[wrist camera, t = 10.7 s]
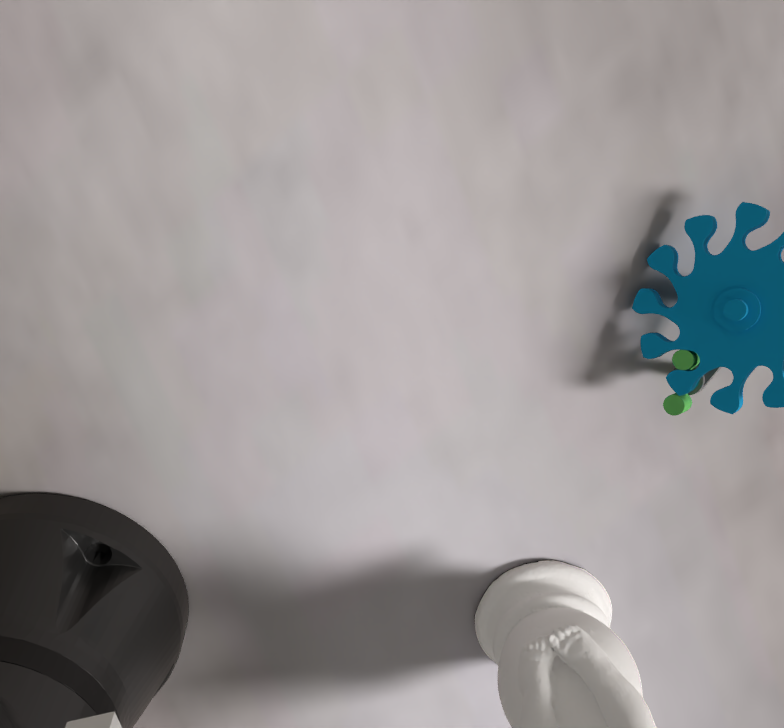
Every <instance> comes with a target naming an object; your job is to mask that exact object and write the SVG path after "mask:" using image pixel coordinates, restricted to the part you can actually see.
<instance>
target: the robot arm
mask: <svg viewBox="0 0 784 728" xmlns="http://www.w3.org/2000/svg"><path fill="white" fill-rule="evenodd" d="M188 613H189V604H188V595H187V590H186V586H185V583H184V580H183V577H182V575H181V573H180V570H179V568H178V566H177V565H176V563H175V561H174V560H173V558H172V557H171V555H170V554H169V553H168V551H167V550H166V549H165V548H164V546H163V545H162V544H161V543H160V542H159V541H158V540H157V539H156V538H155V537H154V536H153V535H152V534H150V533H149V532H148V531H147V530H145V529H144V528H143V527H142V526H140V525H139V524H137V523H136V522H134V521H133V520H131V519H129V518H128V517H126V516H124V515H122V514H120V513H118V512H116V511H114V510H112V509H110V508H107V507H105V506H102V505H100V504H97V503H94V502H90V501H87V500H83V499H79V498H75V497H69V496H63V495H54V494H22V495H14V496H7V497H2V498H0V728H133V726H134V725H135V723H136V722H137V720H138V719H139V717H140V716H141V715H142V713H143V712H144V710H145V709H146V707H147V706H148V704H149V703H150V701H151V700H152V698H153V697H154V696H155V695H156V693H157V692H158V691H159V690H160V689H161V687H162V686H163V685H164V684H165V682H166V681H167V679H168V678H169V676H170V675H171V673H172V671H173V669H174V667H175V664H176V662H177V660H178V657H179V654H180V651H181V647H182V643H183V639H184V635H185V631H186V626H187V622H188Z"/></svg>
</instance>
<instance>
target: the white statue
mask: <svg viewBox="0 0 784 728" xmlns="http://www.w3.org/2000/svg"><path fill="white" fill-rule="evenodd" d="M474 619H475V620H474V621H475V630H476V635H477V639H478V641H479V644H480V646H481V648H482V649H483V651H484V652H485V654H486V655H487V656H488V657H489V658H490V659H491V660H492V661H494V662H495V663H496V664H497V665H498V691H499V696H500V700H501V704H502V707H503V710H504V712H505V715H506V717H507V719H508V721H509V723H510V725H511V727H512V728H657V727H656V725H655V722H654V720H653V717H652V715H651V712H650V710H649V708H648V706H647V704H646V702H645V700H644V699H643V695H642V684H641V679H640V674H639V672H638V668H637V665H636V663H635V661H634V659H633V657H632V655H631V653H630V651H629V650H628V648H627V647H626V645H625V644H624V642H623V641H622V640H621V639H620V638H619V637H618V636H617V635H616V634H615V633H614V632H613V631H612V630H611V629H610V624H611V619H612V605H611V600H610V598H609V595H608V593H607V591H606V590H605V588H604V587H603V585H602V584H601V583H600V582H599V581H598V580H597V579H596V578H595V577H594V576H593V575H591V574H590V573H589V572H587V571H586V570H585V569H584V570H583V569H582V568H578V567H576V566H572V565H570V564H566V563H565V562H564V563H563V562H560V561H558V562H557V561H554V560H550V561H549V560H547V561H539V562H537V563H530V564H529V563H528V564H523V566H518V567H515V568H514V569H511V570H509V571H507V572H505V573H503V574H502V575H500V576H499V578H498V580H494V582H492V584H491V585H490V586H489V587H488V588H487V591H486V592H485V594H484V596H483V598H482V599H481V601H480V603H479V606H478V608H477V611H476V613H475V618H474Z"/></svg>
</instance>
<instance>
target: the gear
mask: <svg viewBox="0 0 784 728" xmlns="http://www.w3.org/2000/svg"><path fill="white" fill-rule="evenodd" d="M769 216H770V211H769V210H767V209H766V208H763V207H761V206H759V205H756V204H752V203H745V202H742V203H741V204H740V205H739V207H738V208H737V210H736V228H735V232H734V235H733V237H732V239H731V241H730V242H729V244H728V245H727V247H726V248H725V249H724V250H723V252H722V253H720V254H718V255H712V254H710V252H709V251H708V248H707V244H708V242H709V240H710V238H711V237H712V236H713V234H714V233H715V231H716V229H717V221H716V219H715V217H713V216H710V215H702V216H697V217H693V218H690V219H687V220H686V222H685V231H686V233H687V234H688V236H689V237H690V238H691V240H692V242H693V245H694V248H695V263H694V269H693V271H692V273H691V274H689V275H688V276H685V277H684V276H682V275H681V274H680V273H679V272H678V269H677V264H678V253H677V251H676V250H675V248H673V247H672V246H669V245H663V246H661V247H659V248H658V249H656V250H655V251H654V252H653V253H652V254H651V255H650V256H649V257H648V258H647V262H648V264H649V266H650V267H651V268H653V269H654V270H657V271H659V272H661V273H663V274H664V275H665V276H666V277H668V279H669V280H670V281H671V282H672V284H673V286H674V288H675V290H676V292H677V295H678V300H677V303H676V304H675V305H674V306H673V307H671V308H669V307H667V306H665V305H664V303H663V302H662V299H661V297H660V295H659V293H658V292H657V291H655V290H654V289H651V288H641V289H640V290H639V291H638V293H637V295H636V297H635V299H634V302H633V306H632V309H633V310H634V311H635V312H637V313H640V314H648V313H654V314H659V315H662V316H665V317H666V318H668V319H670V320H671V321H672V322H674V323H675V324H676V325H678V327H679V329H680V335H679V337H678V339H677V340H675V341H670V340H668V339H667V338H666V337H664V336H663V335H661V334H659V333H648V334H644V335H642V336H641V350H642V354H643V357H644V358H647V359H652V358H657V357H660V356H662V355H663V354H665V353H666V352H668V351H670V350H676V349H680V350H679V351H677V352H675V353H674V355H673V357H672V362H673V365H674V366H675V367H676V368H675V369H674V370H673V371H671V372H670V373H669V374H668V375H667V377H666V379H667V382H668V383H669V385H670V387H671V388H672V389H673V390H674V391H675V392H676V393H675V394H672V395H670V396H668V397H667V398H666V399H665V400H664V403H663V406H664V409H665V411H666V412H667V413H668V414H670V415H679V414H681V413H683V412H685V411H687V410H688V409H689V408H690V407H691V404H692V400H691V398H690V396H689V395H692V394H695V393H697V392H700V391H701V390H702V389H703V388H704V387H705V386H706V385H707V383H708V382H709V381H710V380H711V379H712V377H713V376H714V375H715V374H716V373H717V371H718V370H719V369H720V368H721V367H726V368H728V369H730V370H731V371H732V373H733V376H734V379H733V382H732V384H731V385H730V386H727V387H724V388H722V389H720V390H718V391H716V392H715V393H714V394H713V395H712V397H711V400H710V404H711V405H713V406H714V407H715V408H717V409H719V410H721V411H724V412H727V413H730V414H733V413H735V412H737V411H738V410H739V409H740V408H741V407H742V405H743V387H744V384H745V381H746V379H747V378H748V376H749V375H750V374H751V372H752V371H753V370H754V369H755V368H756V367H757V366H761V365H762V366H766V367H768V368H770V369H771V371H772V372H773V381H772V382H771V384H770V385H769V386H768V387H767V388H766V390H765V391H764V393H763V402H764V404H765V406H767V407H773V408H778V407H784V262H783V261H782V259H781V252H782V250H783V249H784V232H783V234H782V235H781V236H780V237H779V238H778V239H776V240H775V241H774V242H772V243H771V244H769V245H767V246H765V247H763V248H761V249H758V250H755V251H751V250H750V249H748V248H747V246H746V244H745V239H746V236H747V235H748V234H749V233H750V232H751V231H753V230H755V229H757V228H760V227H761V226H763V225H764V224H765V223H766V222H767V221H768V219H769Z"/></svg>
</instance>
